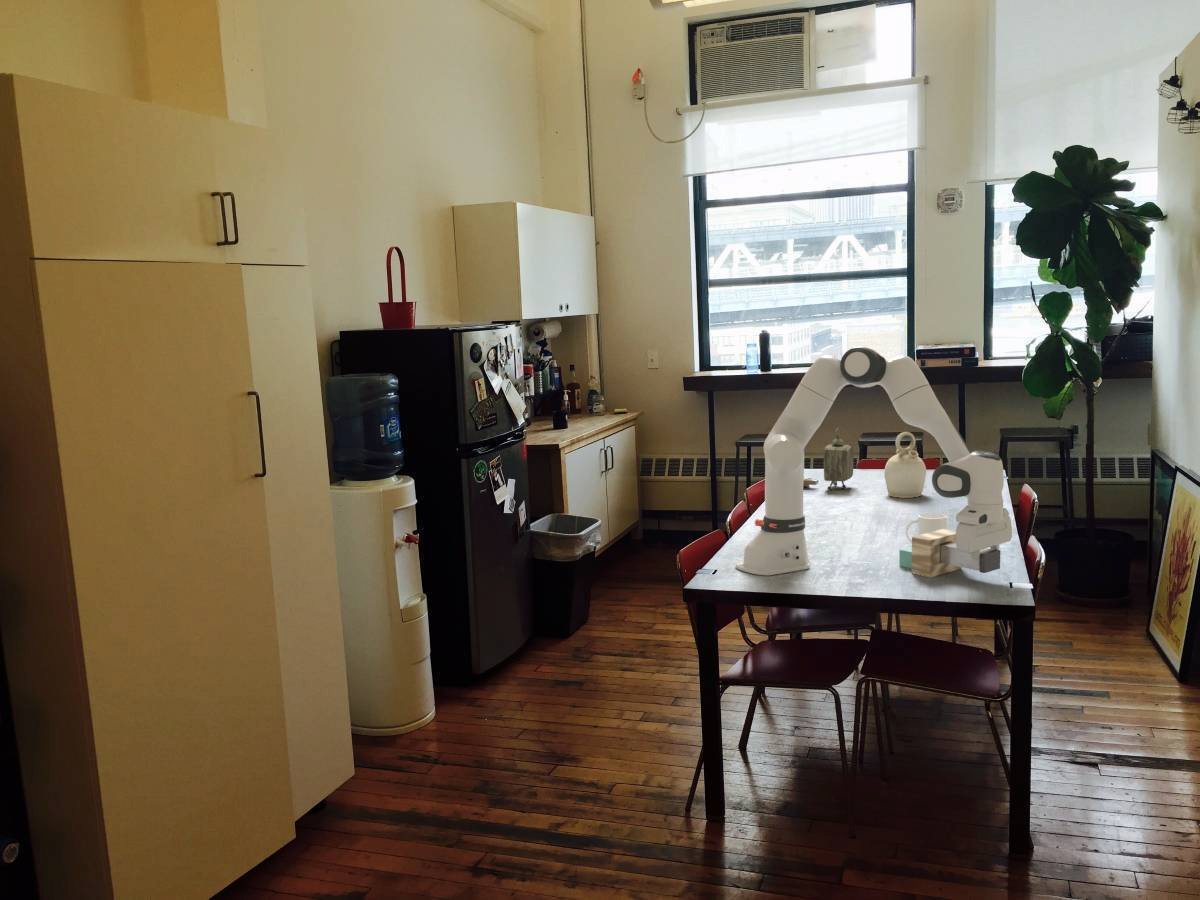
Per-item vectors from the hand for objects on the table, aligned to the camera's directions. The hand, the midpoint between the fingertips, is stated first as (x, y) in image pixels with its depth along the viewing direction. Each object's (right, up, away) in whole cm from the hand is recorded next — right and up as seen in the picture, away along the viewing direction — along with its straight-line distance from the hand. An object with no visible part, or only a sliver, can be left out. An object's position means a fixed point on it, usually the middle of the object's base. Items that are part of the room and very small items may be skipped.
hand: (984, 563), depth 265 cm
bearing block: (-8, -4, +13) cm, 16 cm away
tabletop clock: (-5, +14, +140) cm, 141 cm away
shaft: (-4, -1, +7) cm, 8 cm away
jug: (+16, +12, +121) cm, 123 cm away
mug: (-5, -1, +31) cm, 31 cm away
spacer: (-11, -1, +16) cm, 20 cm away
